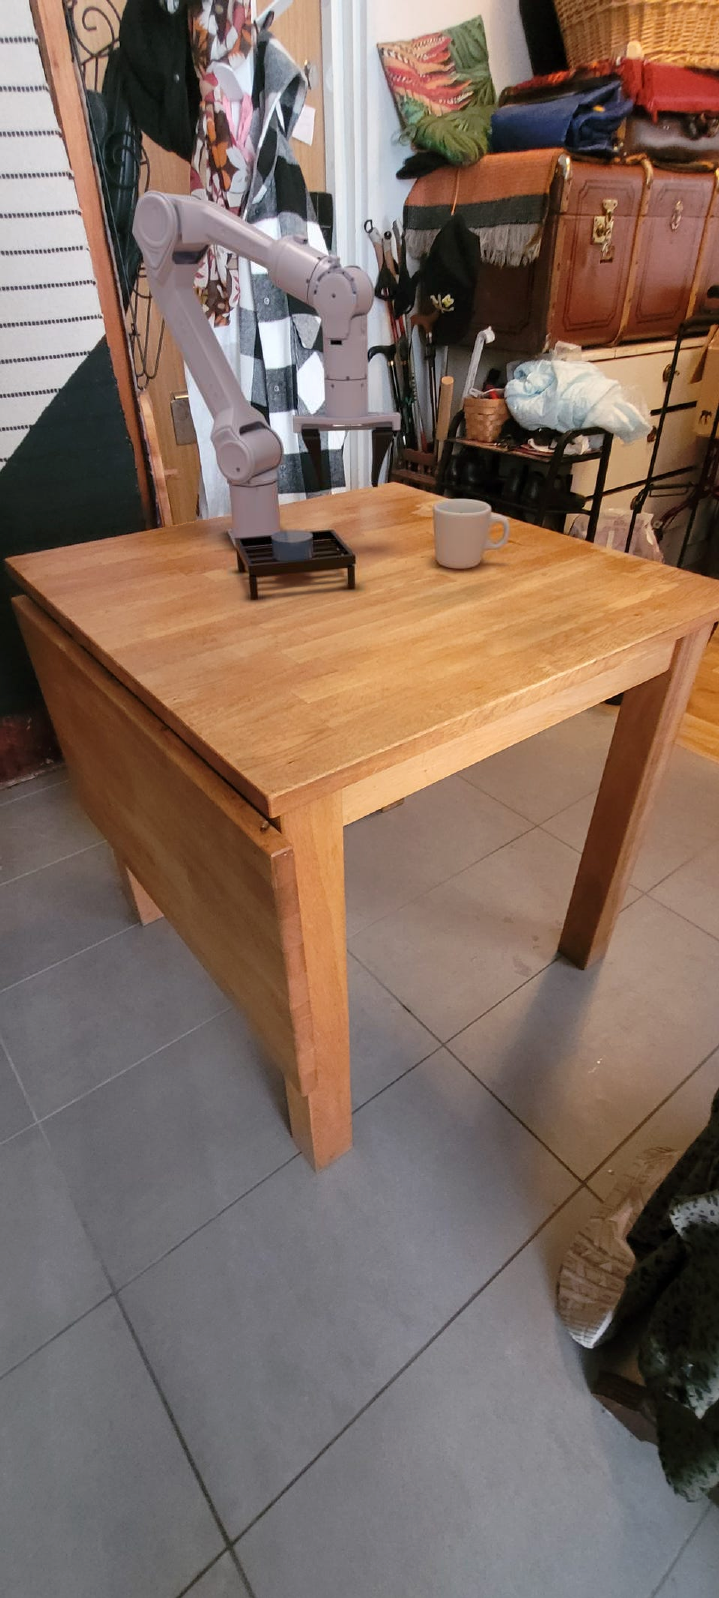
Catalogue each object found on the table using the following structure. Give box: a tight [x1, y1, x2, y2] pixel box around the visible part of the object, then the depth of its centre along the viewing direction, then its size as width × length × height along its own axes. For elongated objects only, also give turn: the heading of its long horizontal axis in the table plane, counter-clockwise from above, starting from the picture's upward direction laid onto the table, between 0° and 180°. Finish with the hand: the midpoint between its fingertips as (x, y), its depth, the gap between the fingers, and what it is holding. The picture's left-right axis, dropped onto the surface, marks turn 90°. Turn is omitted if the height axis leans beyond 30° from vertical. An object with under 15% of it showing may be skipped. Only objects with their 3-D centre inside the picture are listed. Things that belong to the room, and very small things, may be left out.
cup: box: [432, 498, 511, 570], centre depth 107 cm, size 11×8×8 cm
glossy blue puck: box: [271, 529, 314, 561], centre depth 102 cm, size 6×6×3 cm
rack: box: [234, 529, 357, 601], centre depth 104 cm, size 12×14×4 cm
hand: (347, 486), depth 109 cm, fingers open, 7 cm apart
